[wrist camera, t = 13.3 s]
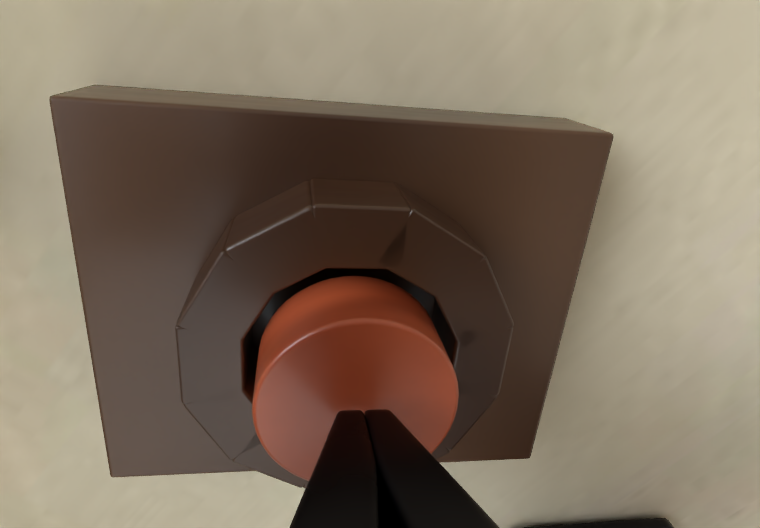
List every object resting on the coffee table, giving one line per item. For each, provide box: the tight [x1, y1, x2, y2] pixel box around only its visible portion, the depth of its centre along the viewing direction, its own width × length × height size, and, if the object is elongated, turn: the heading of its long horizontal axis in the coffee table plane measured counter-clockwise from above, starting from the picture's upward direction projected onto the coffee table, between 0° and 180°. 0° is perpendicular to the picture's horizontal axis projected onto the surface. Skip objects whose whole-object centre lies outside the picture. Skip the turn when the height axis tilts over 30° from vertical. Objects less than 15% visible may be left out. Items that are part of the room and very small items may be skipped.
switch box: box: [50, 85, 613, 488], centre depth 12 cm, size 11×9×4 cm
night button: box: [252, 276, 459, 481], centre depth 10 cm, size 4×4×2 cm
